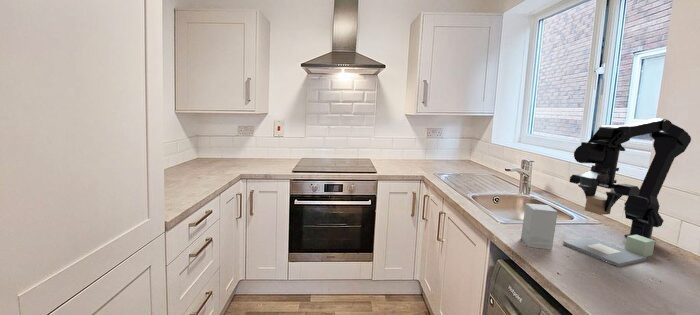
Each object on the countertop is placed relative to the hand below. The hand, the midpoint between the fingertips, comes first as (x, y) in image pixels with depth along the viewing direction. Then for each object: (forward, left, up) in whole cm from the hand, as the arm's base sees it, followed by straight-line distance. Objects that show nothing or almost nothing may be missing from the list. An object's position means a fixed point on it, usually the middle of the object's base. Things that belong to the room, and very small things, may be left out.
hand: (597, 209), depth 110 cm
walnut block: (0, 0, -1) cm, 1 cm away
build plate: (+7, +7, -11) cm, 15 cm away
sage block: (-4, +11, -11) cm, 17 cm away
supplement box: (+23, -4, -12) cm, 26 cm away
